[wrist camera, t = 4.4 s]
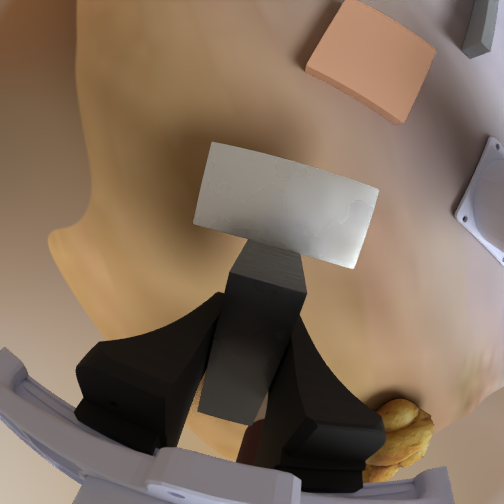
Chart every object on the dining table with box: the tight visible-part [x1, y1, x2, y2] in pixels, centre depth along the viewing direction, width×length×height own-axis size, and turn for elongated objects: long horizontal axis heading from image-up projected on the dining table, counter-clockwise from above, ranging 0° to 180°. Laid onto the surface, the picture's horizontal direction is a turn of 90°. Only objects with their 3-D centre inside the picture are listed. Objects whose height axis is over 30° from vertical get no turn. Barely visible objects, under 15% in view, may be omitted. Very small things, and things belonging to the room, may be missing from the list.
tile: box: [305, 0, 437, 125], centre depth 13 cm, size 7×7×2 cm
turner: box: [193, 142, 380, 426], centre depth 11 cm, size 11×8×6 cm
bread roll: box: [362, 399, 434, 483], centre depth 22 cm, size 13×10×8 cm
